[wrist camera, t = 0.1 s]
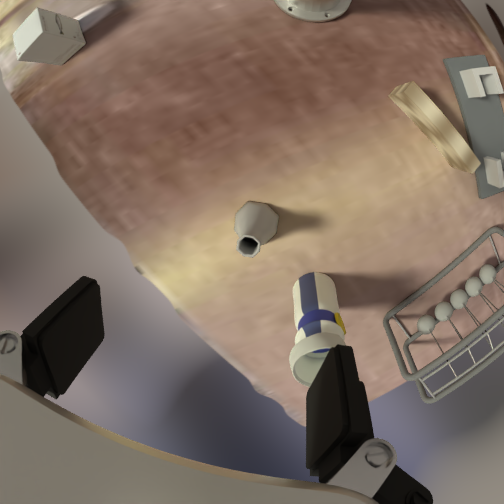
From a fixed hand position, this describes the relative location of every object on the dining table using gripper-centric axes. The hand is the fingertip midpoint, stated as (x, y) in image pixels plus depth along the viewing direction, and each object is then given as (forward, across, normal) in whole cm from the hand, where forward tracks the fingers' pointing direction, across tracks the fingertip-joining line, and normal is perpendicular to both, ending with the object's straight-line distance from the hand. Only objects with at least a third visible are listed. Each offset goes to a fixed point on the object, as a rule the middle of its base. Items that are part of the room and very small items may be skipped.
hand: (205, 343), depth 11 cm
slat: (+37, -22, -16) cm, 46 cm away
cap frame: (+37, -34, -21) cm, 55 cm away
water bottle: (+37, -12, +17) cm, 43 cm away
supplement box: (+37, +43, -21) cm, 61 cm away
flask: (+38, 0, +8) cm, 38 cm away
